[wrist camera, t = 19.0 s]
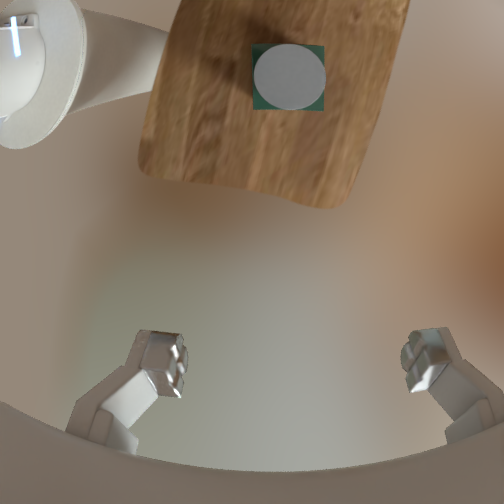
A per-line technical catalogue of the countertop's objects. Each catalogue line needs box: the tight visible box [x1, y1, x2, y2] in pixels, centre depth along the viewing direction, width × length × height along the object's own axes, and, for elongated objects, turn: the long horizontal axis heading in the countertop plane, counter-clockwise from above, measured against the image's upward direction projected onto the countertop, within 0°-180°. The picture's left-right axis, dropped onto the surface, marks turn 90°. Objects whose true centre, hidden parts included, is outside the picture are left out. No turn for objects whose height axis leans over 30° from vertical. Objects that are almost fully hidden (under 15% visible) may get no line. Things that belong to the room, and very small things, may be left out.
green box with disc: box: [251, 44, 326, 111], centre depth 24 cm, size 11×6×6 cm
